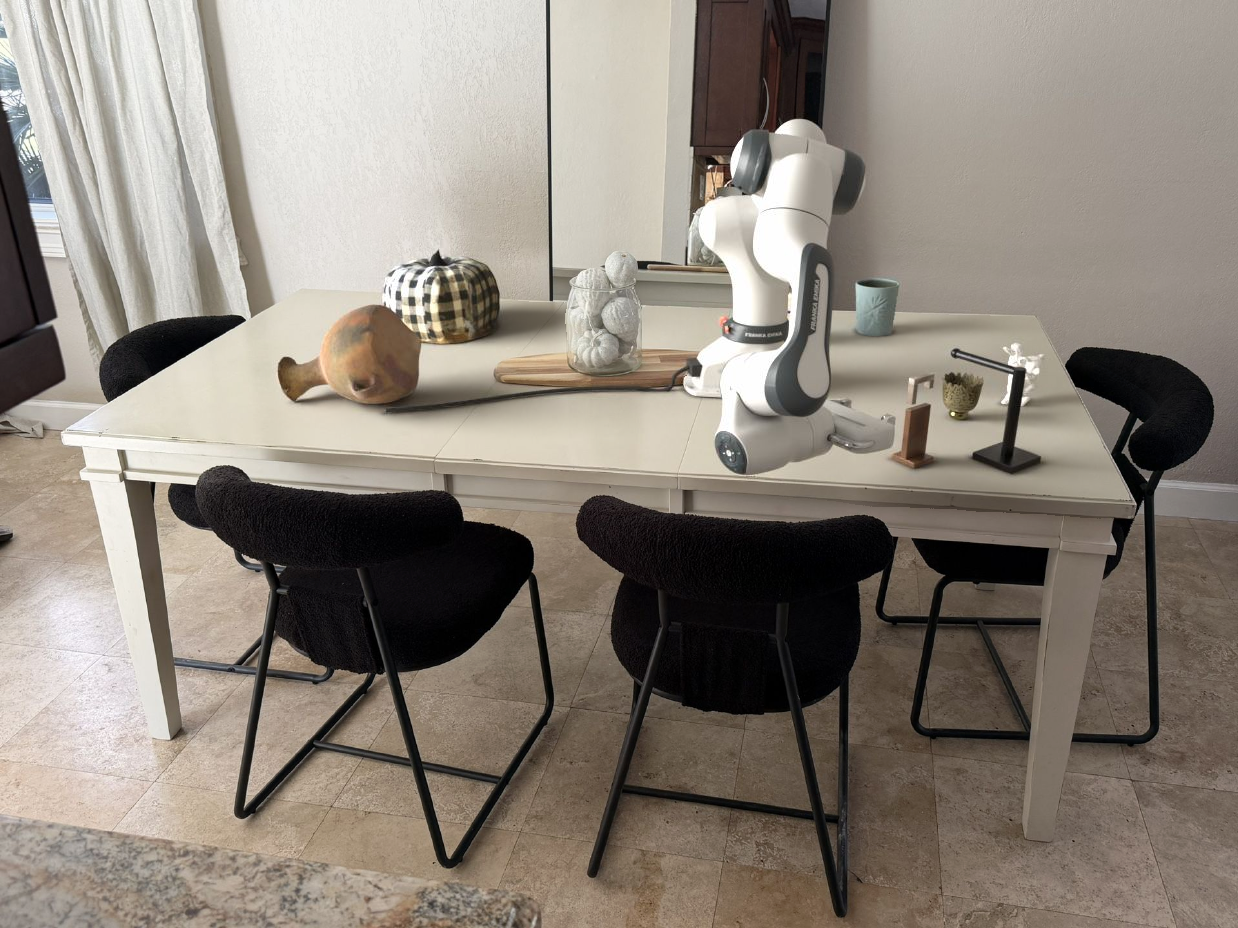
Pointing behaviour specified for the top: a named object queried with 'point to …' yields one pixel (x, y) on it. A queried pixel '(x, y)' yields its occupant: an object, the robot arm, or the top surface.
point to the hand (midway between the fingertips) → (869, 411)
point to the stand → (1006, 452)
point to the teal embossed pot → (876, 306)
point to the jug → (359, 359)
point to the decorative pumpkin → (444, 298)
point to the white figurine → (1033, 369)
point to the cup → (961, 394)
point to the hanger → (916, 426)
